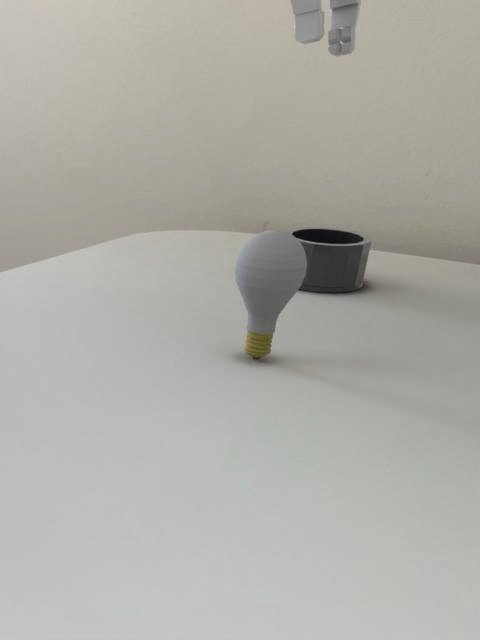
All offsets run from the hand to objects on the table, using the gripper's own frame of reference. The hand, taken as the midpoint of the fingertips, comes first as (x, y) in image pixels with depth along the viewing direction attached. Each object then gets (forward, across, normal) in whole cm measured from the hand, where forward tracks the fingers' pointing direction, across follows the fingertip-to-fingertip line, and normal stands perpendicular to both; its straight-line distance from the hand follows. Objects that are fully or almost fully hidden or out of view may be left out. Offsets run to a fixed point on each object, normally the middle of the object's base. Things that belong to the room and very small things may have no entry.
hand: (326, 48), depth 77 cm
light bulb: (+22, -6, +4) cm, 24 cm away
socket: (+18, +22, +6) cm, 29 cm away
